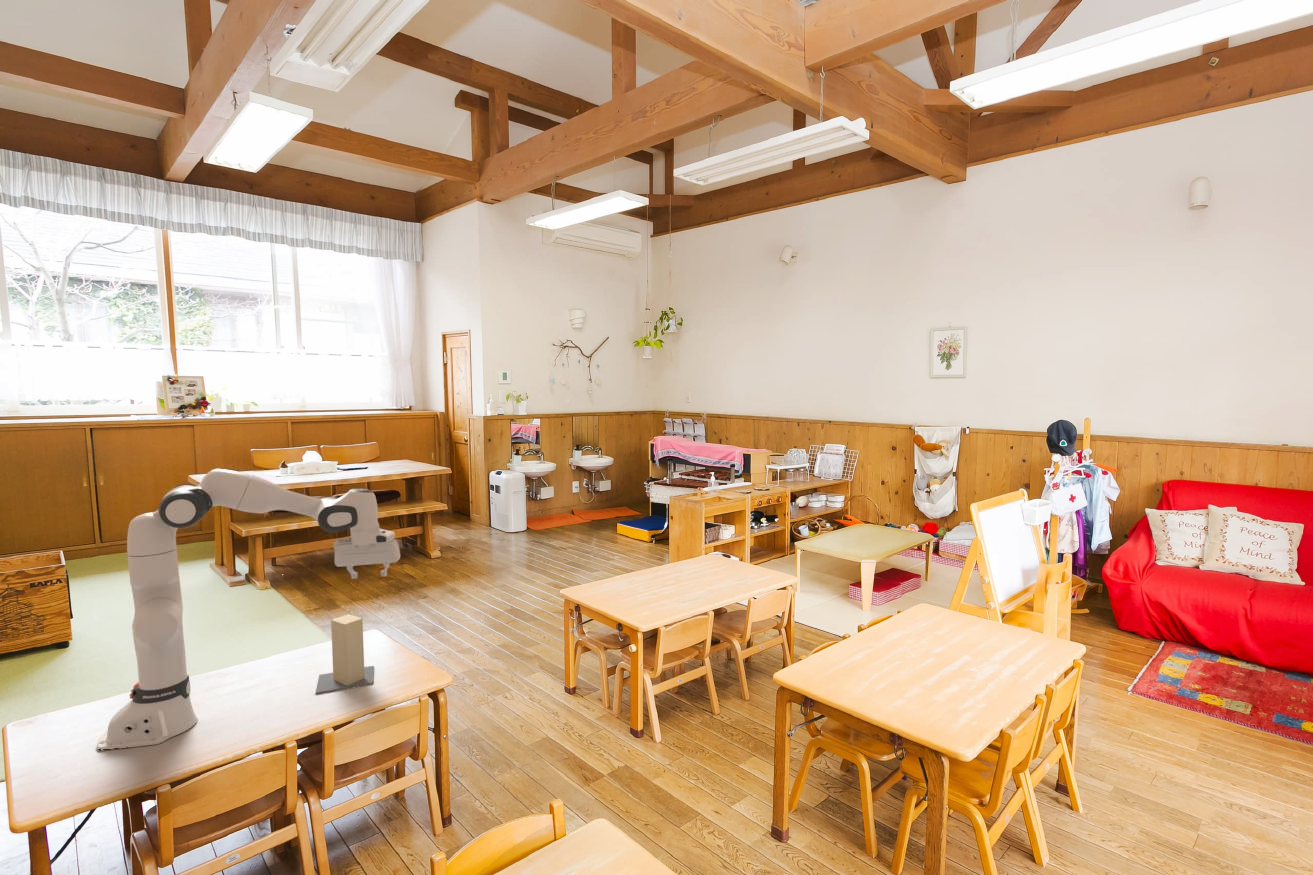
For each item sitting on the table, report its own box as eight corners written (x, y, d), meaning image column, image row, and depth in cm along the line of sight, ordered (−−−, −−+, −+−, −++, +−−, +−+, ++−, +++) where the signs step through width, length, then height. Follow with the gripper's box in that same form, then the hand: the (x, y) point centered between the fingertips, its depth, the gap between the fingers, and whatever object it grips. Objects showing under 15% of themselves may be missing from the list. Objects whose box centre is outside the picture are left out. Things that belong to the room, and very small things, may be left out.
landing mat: (315, 694, 205) (315, 692, 205) (319, 676, 218) (319, 674, 218) (372, 684, 212) (372, 682, 211) (373, 667, 224) (373, 665, 224)
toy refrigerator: (367, 677, 215) (364, 617, 213) (347, 686, 209) (343, 624, 207) (353, 672, 219) (350, 613, 218) (333, 680, 213) (329, 619, 212)
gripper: (329, 541, 206) (333, 582, 207) (394, 536, 208) (397, 577, 210) (336, 536, 212) (340, 576, 214) (399, 532, 214) (403, 571, 216)
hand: (369, 576), depth 212 cm, fingers open, 8 cm apart
